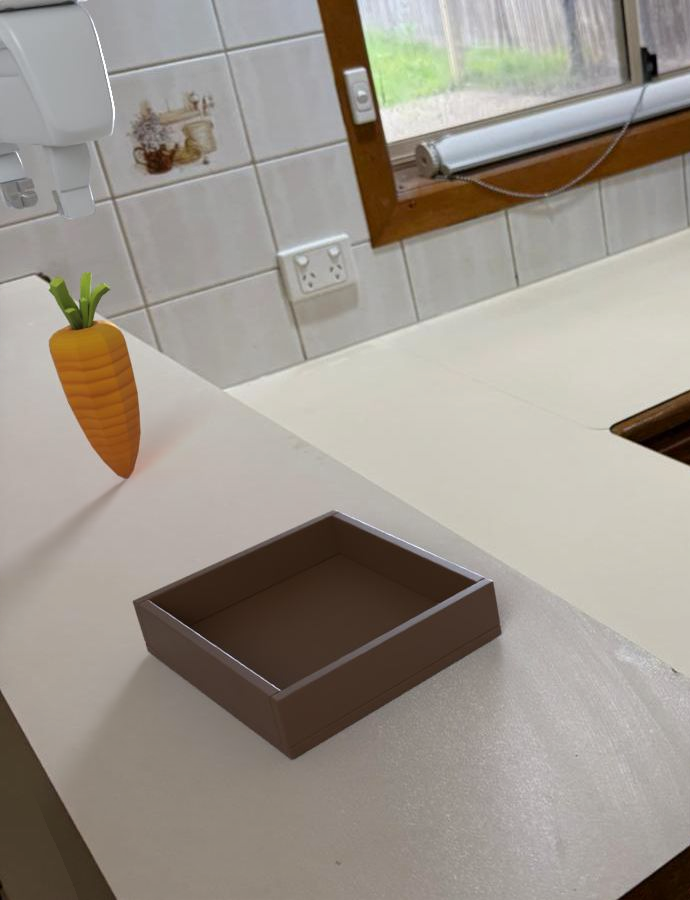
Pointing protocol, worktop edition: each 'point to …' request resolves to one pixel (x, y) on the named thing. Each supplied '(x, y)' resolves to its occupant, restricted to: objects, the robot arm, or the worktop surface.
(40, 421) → the worktop surface
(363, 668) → the tray
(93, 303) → the carrot
